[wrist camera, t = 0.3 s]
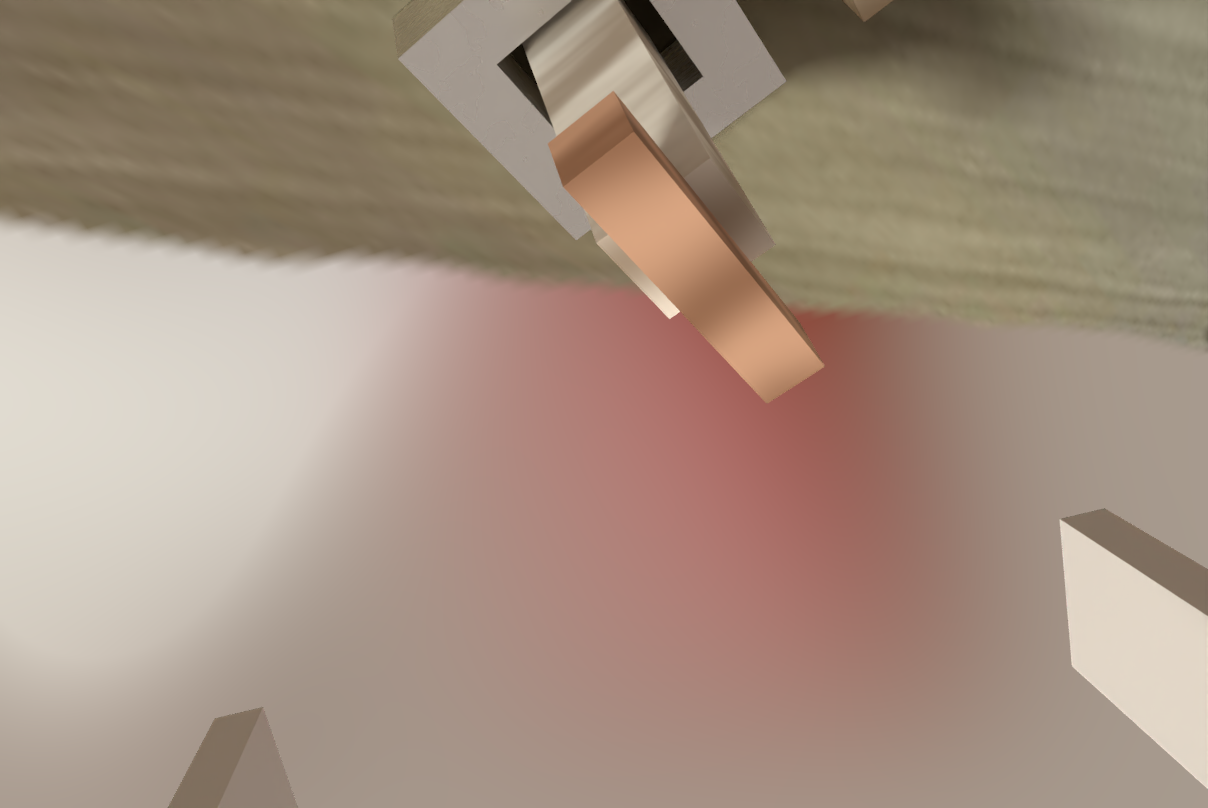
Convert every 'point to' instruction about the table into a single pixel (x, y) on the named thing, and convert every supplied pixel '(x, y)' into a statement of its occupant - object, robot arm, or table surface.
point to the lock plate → (514, 103)
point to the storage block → (866, 7)
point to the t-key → (662, 190)
